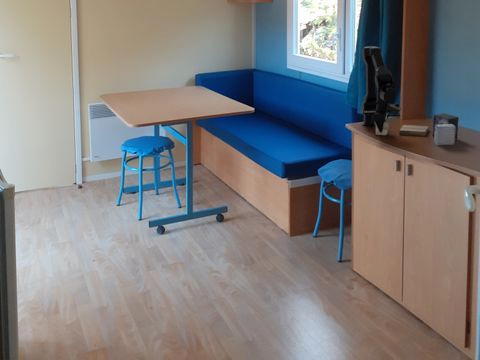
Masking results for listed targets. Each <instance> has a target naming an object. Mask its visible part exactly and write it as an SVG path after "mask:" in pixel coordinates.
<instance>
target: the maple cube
mask: <svg viewBox="0 0 480 360" xmlns="http://www.w3.org/2000/svg"><path fill="white" fill-rule="evenodd" d="M388 134H389V120H387V121H385V122H384V125H383V130H382V132H379V129H378V127H377V125H375V135H377V136H387V135H388Z"/></svg>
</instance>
